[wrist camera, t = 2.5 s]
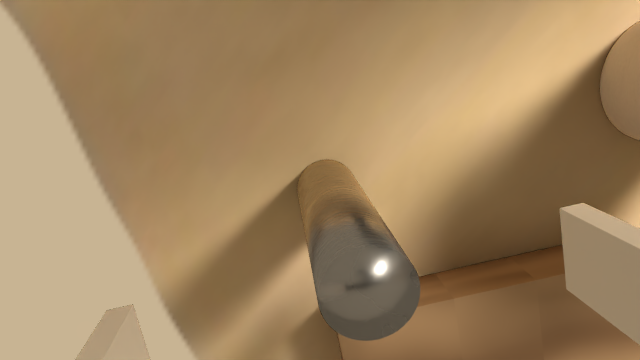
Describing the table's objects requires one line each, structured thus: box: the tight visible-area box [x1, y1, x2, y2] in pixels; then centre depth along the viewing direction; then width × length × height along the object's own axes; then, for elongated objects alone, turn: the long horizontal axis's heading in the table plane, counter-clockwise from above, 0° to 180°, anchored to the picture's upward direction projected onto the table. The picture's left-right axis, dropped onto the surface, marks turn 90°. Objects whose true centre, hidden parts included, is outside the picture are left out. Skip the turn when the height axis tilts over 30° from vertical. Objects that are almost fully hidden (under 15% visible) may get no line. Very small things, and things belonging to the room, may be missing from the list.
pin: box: [297, 160, 420, 341], centre depth 21 cm, size 3×3×12 cm
